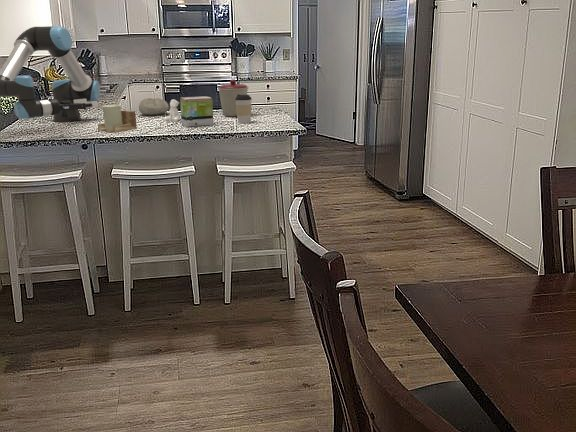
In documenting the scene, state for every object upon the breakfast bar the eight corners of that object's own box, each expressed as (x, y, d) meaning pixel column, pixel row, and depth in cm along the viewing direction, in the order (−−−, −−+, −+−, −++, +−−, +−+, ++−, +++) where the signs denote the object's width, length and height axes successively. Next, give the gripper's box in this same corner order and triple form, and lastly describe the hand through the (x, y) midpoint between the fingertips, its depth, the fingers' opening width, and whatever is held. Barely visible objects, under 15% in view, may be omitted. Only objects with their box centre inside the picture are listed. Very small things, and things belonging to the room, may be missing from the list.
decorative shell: (153, 112, 371) (152, 96, 368) (175, 113, 363) (174, 97, 360) (133, 116, 357) (131, 99, 354) (155, 117, 348) (154, 100, 345)
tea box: (187, 127, 312) (185, 99, 308) (181, 124, 321) (179, 97, 316) (214, 125, 319) (212, 97, 314) (207, 122, 328) (206, 95, 323)
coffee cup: (255, 121, 328) (254, 93, 324) (248, 123, 320) (247, 95, 315) (240, 120, 331) (238, 93, 326) (233, 123, 323) (232, 95, 318)
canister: (213, 117, 346) (211, 80, 339) (227, 113, 362) (226, 77, 355) (241, 118, 339) (239, 80, 333) (254, 114, 355) (253, 78, 348)
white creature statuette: (162, 121, 333) (160, 100, 330) (171, 119, 341) (169, 98, 337) (176, 122, 329) (174, 100, 326) (185, 120, 337) (183, 98, 333)
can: (118, 129, 303) (115, 106, 299) (101, 129, 304) (98, 105, 301) (126, 126, 311) (123, 103, 308) (110, 126, 313) (107, 103, 309)
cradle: (97, 130, 308) (95, 112, 305) (119, 126, 319) (117, 109, 316) (115, 132, 300) (113, 114, 298) (136, 128, 311) (135, 111, 309)
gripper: (41, 112, 295) (82, 107, 308) (60, 118, 277) (103, 112, 290) (39, 97, 293) (80, 92, 306) (57, 102, 275) (101, 97, 288)
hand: (91, 102), depth 298 cm, fingers open, 13 cm apart
